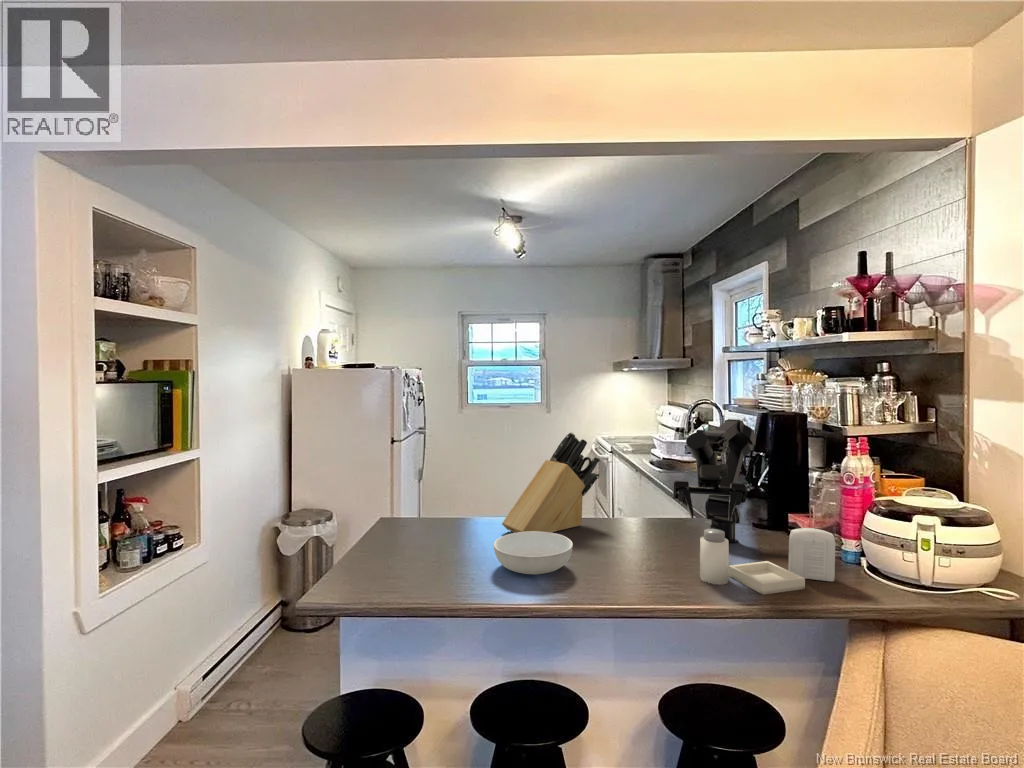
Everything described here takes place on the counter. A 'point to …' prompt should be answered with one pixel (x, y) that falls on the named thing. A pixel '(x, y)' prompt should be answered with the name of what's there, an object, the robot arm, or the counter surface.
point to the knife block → (555, 491)
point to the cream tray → (766, 577)
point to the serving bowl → (533, 551)
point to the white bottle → (714, 557)
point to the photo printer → (812, 554)
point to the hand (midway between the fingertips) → (711, 519)
